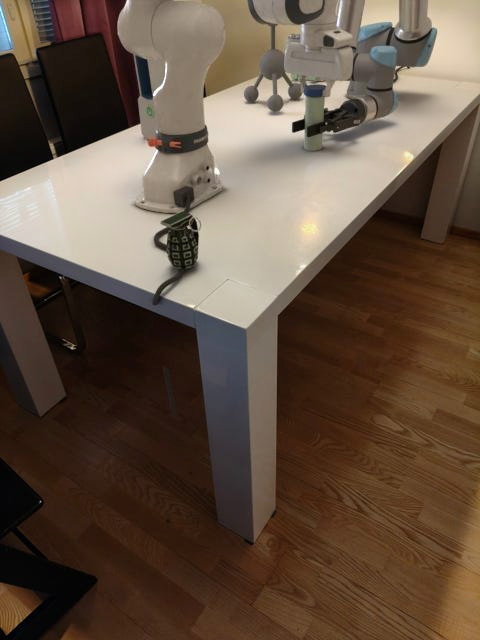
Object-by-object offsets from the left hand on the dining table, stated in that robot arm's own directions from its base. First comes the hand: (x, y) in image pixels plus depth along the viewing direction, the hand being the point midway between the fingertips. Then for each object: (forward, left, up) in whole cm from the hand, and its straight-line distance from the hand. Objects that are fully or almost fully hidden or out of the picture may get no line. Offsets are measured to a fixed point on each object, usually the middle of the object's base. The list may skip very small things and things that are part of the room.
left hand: (315, 94), depth 131 cm
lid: (0, 0, +2) cm, 2 cm away
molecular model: (+41, +28, -14) cm, 51 cm away
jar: (0, 0, -14) cm, 14 cm away
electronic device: (-6, +47, -14) cm, 50 cm away
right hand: (-5, +2, -8) cm, 10 cm away
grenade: (-70, +1, -14) cm, 71 cm away
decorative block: (+88, +28, -14) cm, 93 cm away
